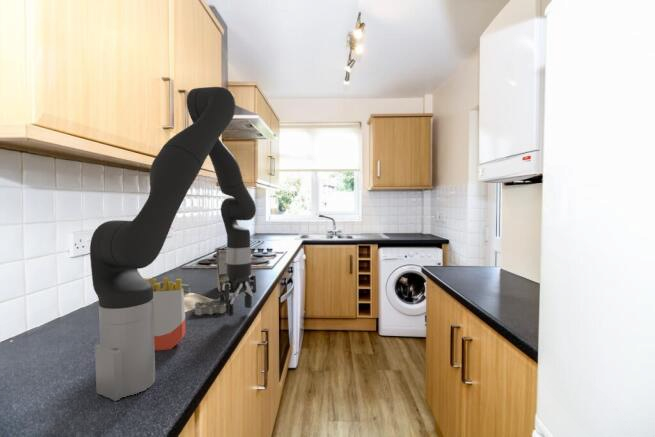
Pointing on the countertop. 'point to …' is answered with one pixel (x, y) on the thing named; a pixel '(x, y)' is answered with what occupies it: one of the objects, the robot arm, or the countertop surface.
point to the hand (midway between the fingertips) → (239, 311)
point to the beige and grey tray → (190, 297)
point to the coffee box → (221, 268)
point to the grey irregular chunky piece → (210, 307)
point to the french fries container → (168, 313)
